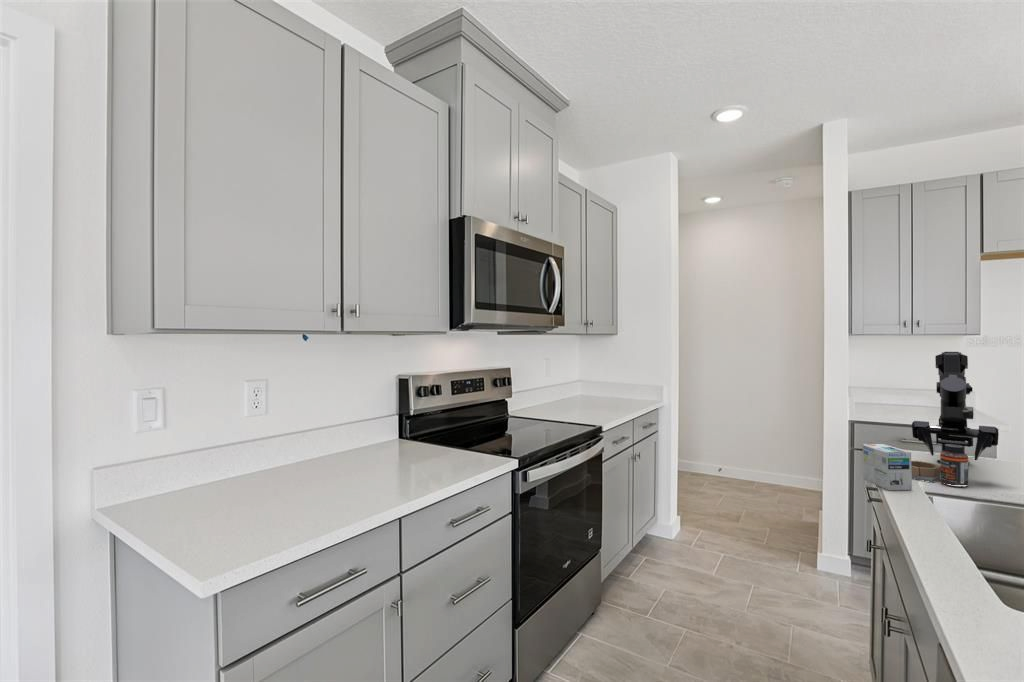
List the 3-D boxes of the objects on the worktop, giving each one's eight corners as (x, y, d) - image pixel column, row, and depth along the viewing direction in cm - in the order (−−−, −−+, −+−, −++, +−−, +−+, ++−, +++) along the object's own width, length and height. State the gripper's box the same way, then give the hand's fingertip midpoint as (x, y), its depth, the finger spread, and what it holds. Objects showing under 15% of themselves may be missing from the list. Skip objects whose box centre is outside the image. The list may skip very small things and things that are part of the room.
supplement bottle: (935, 483, 143) (935, 444, 143) (948, 480, 145) (947, 442, 145) (960, 489, 137) (960, 448, 137) (973, 486, 140) (972, 446, 140)
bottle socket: (908, 469, 157) (908, 458, 157) (947, 477, 148) (947, 465, 148) (892, 474, 152) (891, 463, 152) (931, 482, 143) (931, 470, 143)
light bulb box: (913, 490, 138) (912, 451, 137) (888, 491, 138) (887, 452, 138) (885, 479, 148) (884, 443, 148) (862, 479, 148) (861, 443, 148)
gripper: (911, 394, 151) (910, 436, 143) (997, 398, 139) (1001, 444, 131) (913, 416, 157) (912, 458, 149) (996, 422, 145) (999, 468, 137)
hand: (953, 457), depth 141 cm, fingers open, 9 cm apart
